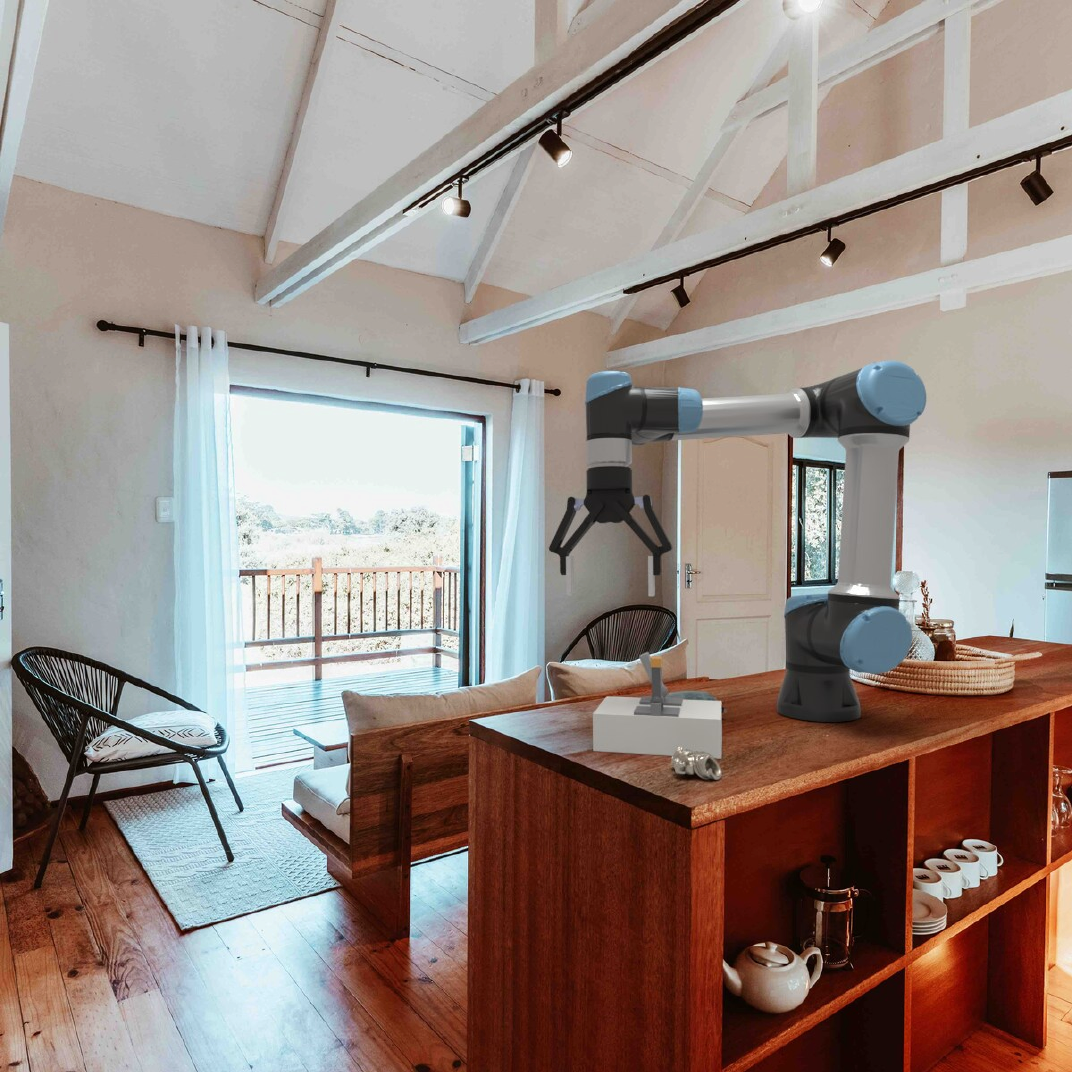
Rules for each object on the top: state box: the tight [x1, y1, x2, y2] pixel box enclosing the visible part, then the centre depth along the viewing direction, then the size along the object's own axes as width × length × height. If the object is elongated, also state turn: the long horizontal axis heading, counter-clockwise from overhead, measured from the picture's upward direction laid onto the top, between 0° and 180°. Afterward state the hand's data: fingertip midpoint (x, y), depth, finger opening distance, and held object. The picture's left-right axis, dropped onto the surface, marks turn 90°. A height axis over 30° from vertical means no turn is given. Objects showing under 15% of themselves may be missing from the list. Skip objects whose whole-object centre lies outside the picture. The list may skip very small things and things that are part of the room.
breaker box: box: [592, 651, 723, 760], centre depth 124 cm, size 20×14×14 cm
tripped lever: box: [650, 655, 664, 707], centre depth 120 cm, size 2×3×8 cm
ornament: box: [670, 747, 722, 781], centre depth 107 cm, size 8×7×4 cm
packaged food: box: [666, 690, 728, 714], centre depth 144 cm, size 9×12×5 cm
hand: (610, 595), depth 123 cm, fingers open, 13 cm apart
